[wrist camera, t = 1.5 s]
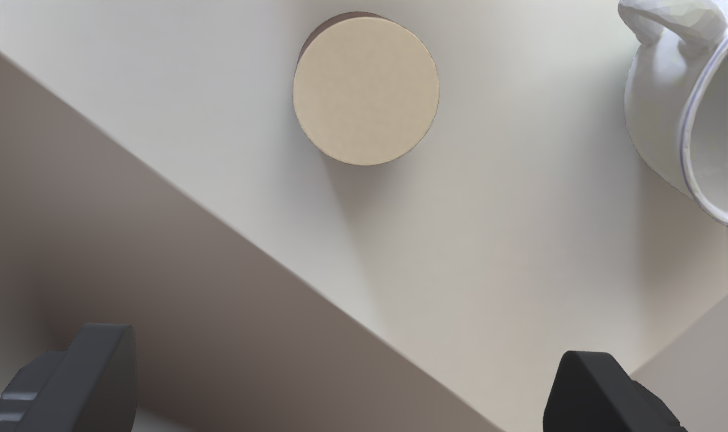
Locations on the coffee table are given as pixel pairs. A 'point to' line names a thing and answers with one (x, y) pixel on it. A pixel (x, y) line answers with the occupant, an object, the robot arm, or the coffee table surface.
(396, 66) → the cake
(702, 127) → the teacup
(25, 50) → the coffee table surface
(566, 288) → the coffee table surface
